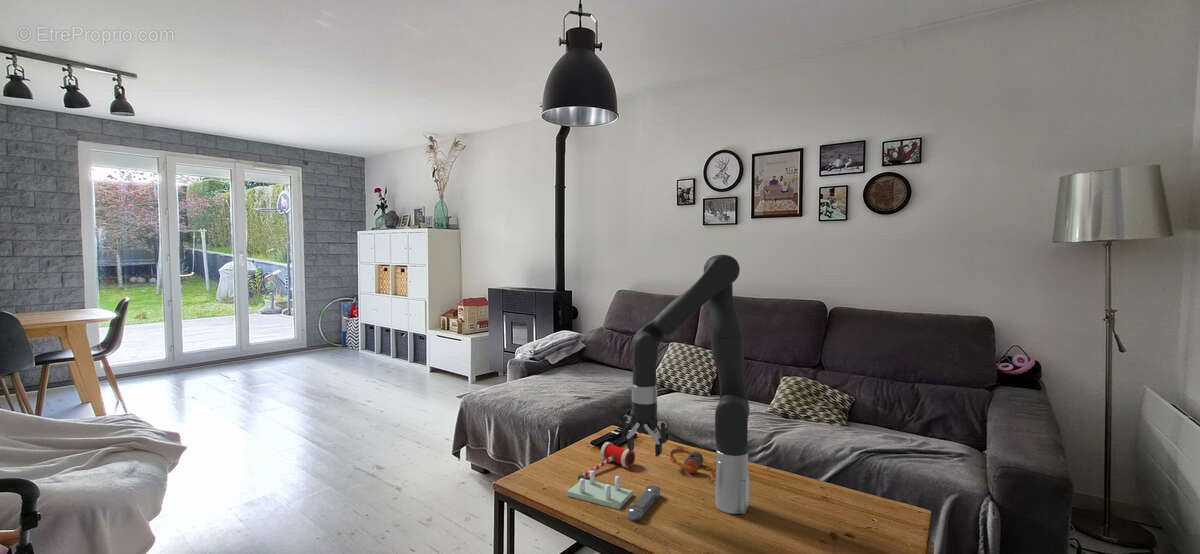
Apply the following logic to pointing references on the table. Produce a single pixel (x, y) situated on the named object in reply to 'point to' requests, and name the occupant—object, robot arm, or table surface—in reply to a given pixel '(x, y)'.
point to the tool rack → (600, 492)
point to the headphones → (690, 461)
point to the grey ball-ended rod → (643, 503)
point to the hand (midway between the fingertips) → (644, 453)
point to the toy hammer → (613, 457)
